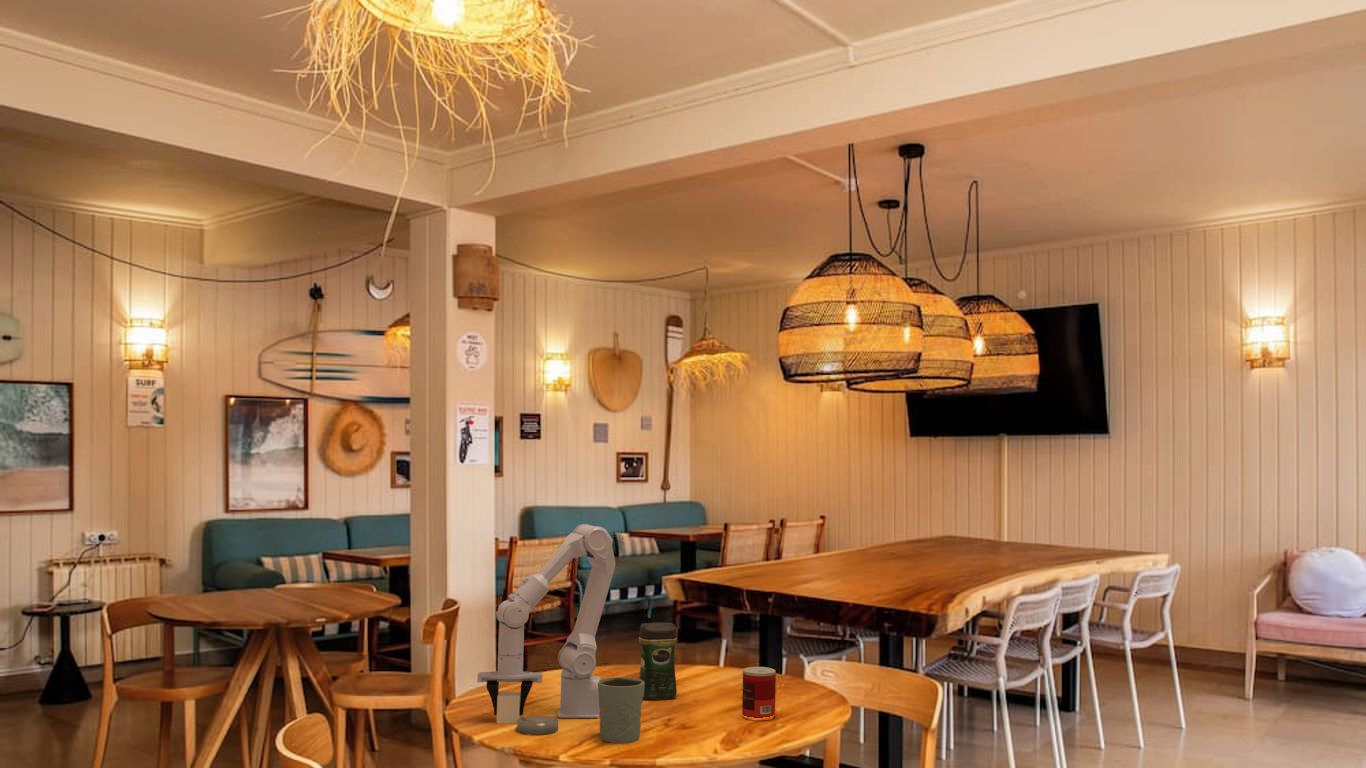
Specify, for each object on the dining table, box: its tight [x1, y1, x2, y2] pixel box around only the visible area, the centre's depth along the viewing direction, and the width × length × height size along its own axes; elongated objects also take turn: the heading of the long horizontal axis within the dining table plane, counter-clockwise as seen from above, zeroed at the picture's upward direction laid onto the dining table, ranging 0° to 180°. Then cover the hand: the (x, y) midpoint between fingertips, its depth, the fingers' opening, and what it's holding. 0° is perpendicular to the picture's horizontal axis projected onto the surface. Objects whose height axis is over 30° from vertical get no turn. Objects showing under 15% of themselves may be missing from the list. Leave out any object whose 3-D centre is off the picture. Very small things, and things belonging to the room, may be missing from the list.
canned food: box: [741, 666, 777, 718], centre depth 251 cm, size 8×8×11 cm
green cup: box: [598, 676, 644, 744], centre depth 230 cm, size 10×10×12 cm
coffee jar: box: [638, 622, 678, 700], centre depth 269 cm, size 10×8×19 cm
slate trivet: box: [516, 715, 559, 736], centre depth 235 cm, size 9×9×2 cm
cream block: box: [496, 690, 522, 724], centre depth 242 cm, size 5×5×6 cm
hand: (508, 714), depth 242 cm, fingers closed on cream block, 5 cm apart
